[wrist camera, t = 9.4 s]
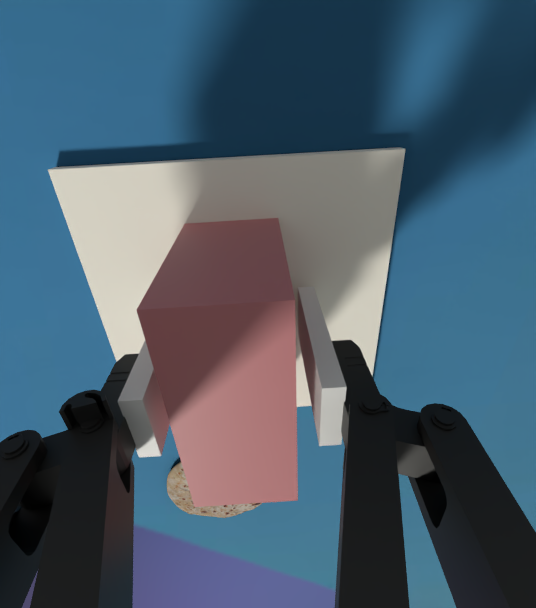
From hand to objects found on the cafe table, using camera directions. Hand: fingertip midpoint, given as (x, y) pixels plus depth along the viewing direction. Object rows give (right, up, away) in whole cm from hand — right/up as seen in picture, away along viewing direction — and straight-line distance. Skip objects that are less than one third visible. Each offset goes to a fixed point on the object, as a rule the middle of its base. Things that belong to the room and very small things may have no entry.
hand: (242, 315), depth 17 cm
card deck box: (0, 0, 0) cm, 0 cm away
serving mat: (0, +1, +1) cm, 1 cm away
